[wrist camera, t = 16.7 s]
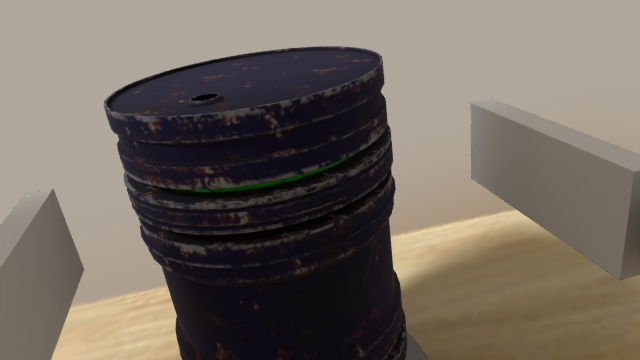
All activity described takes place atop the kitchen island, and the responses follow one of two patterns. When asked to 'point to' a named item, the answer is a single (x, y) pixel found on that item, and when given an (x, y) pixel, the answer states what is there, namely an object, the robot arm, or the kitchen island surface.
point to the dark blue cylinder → (268, 202)
